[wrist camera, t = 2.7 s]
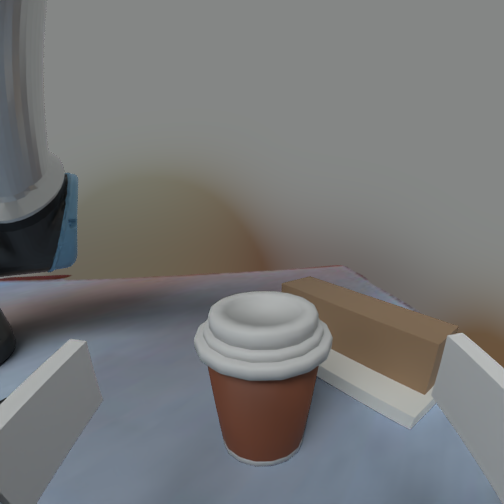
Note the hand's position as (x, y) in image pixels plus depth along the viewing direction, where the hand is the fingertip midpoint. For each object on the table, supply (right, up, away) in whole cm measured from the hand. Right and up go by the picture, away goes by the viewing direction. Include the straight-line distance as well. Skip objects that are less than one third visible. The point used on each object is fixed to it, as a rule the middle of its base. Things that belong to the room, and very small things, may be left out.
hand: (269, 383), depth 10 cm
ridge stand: (+12, -8, +25) cm, 28 cm away
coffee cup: (0, -11, +13) cm, 17 cm away
